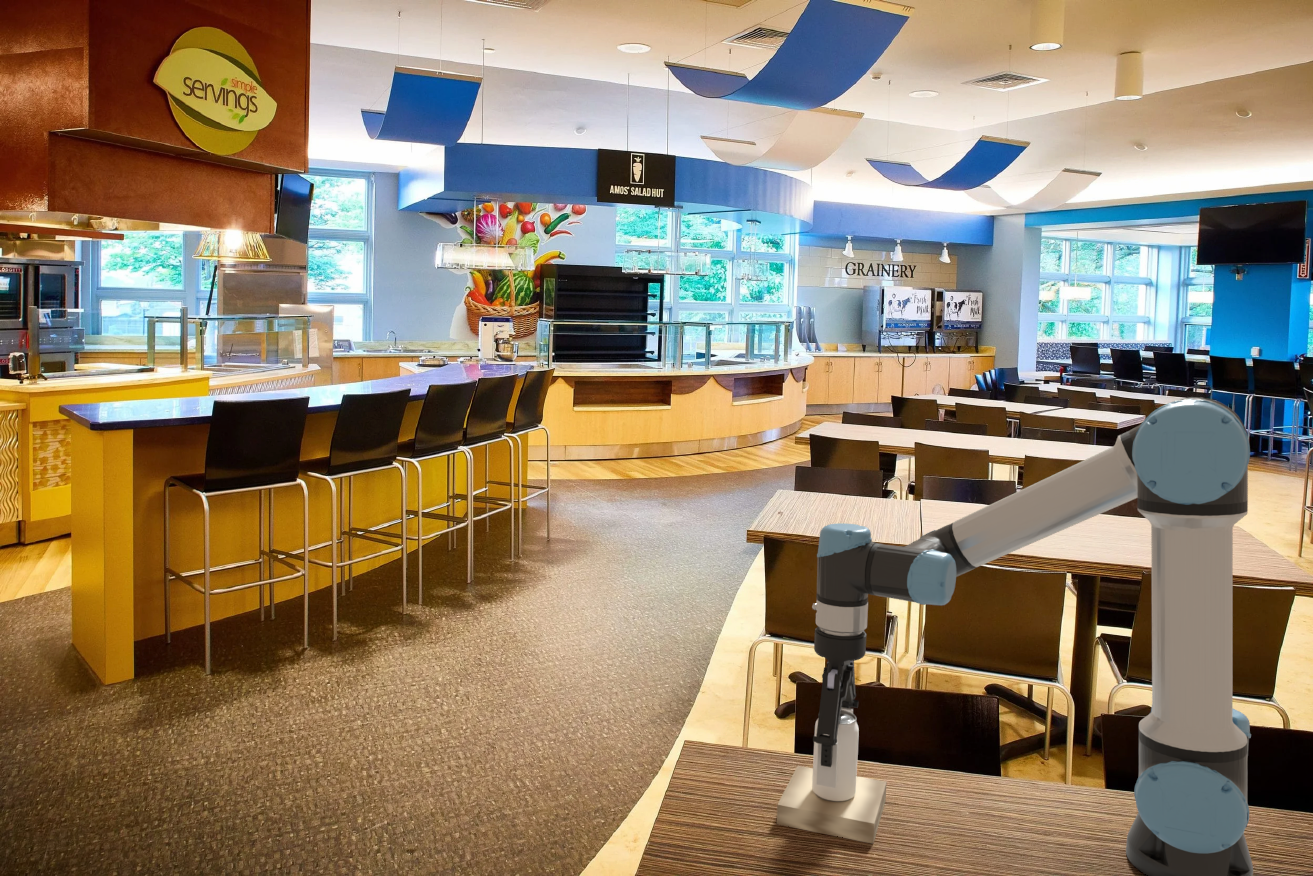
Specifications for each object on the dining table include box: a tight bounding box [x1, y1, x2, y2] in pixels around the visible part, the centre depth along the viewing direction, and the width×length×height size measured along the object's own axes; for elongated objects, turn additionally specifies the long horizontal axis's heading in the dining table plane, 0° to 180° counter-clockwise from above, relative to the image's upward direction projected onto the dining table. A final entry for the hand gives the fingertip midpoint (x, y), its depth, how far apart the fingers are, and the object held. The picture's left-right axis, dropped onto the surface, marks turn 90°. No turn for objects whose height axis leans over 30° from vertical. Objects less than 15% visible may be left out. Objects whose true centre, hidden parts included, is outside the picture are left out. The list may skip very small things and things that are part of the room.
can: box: [812, 710, 860, 802], centre depth 141 cm, size 6×6×12 cm
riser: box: [776, 765, 887, 844], centre depth 142 cm, size 14×14×3 cm
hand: (834, 766), depth 141 cm, fingers open, 13 cm apart
